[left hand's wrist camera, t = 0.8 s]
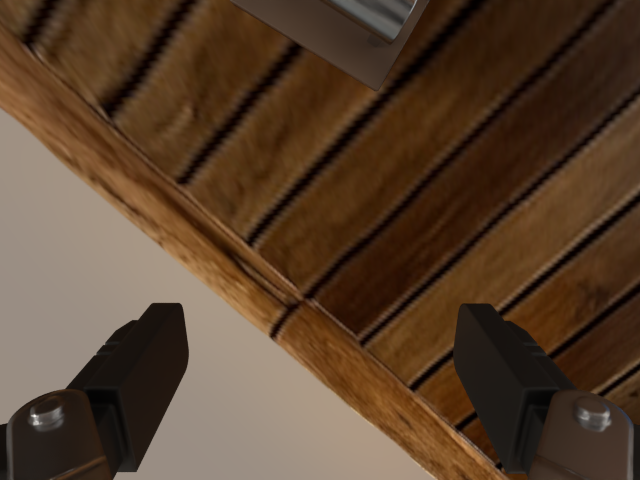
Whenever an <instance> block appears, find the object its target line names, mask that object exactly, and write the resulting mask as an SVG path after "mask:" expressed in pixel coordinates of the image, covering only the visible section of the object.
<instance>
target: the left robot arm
mask: <svg viewBox="0 0 640 480" xmlns="http://www.w3.org/2000/svg"><path fill="white" fill-rule="evenodd" d="M188 358H189V349H188V341H187V334H186V326H185V319H184V312H183V307H182V305H181V304H180V303H152V304H151V305H150V306H149V307H148V309H147V310H146V311H145V312H144V313H143V315H142V316H141V317H140V318H139V320H132V321H130V322H129V323H127V324H126V325H124V326H122V327H121V328H119V329H118V330H116V331H115V332H114V333H113V335H112V336H111V337H110V338H109V339H108V340H107V341H106V343H105V345H103V346H102V347H101V348H100V349H99V351H98V352H97V355H95V356H93V357H92V359H91V360H90V361H89V362H88V363H87V364H86V366H85V367H84V368H83V369H82V370H81V371H80V372H79V374H78V375H77V376H76V377H75V378H74V379H73V380H72V382H71V383H70V384H69V385H68V386H67V388H66V389H63V390H57V391H53V392H50V393H47V394H44V395H42V396H39V397H37V398H35V399H33V400H31V401H30V402H28V403H27V404H25V405H24V406H22V407H21V408H20V409H19V410H18V411H17V412H16V413H15V414H14V415H13V416H12V417H11V419H10V420H9V422H8V423H6V424H2V425H0V480H113V479H114V477H115V475H116V473H117V472H137V470H138V467H139V466H140V464H141V461H142V459H143V457H144V455H145V453H146V451H147V449H148V447H149V445H150V443H151V441H152V439H153V437H154V435H155V433H156V431H157V429H158V427H159V425H160V423H161V421H162V418H163V416H164V414H165V412H166V410H167V408H168V406H169V404H170V402H171V400H172V398H173V396H174V394H175V392H176V390H177V388H178V386H179V384H180V382H181V379H182V378H183V375H184V373H185V371H186V368H187V365H188ZM453 359H454V365H455V369H456V372H457V374H458V376H459V378H460V380H461V382H462V384H463V386H464V388H465V390H466V392H467V394H468V396H469V398H470V400H471V402H472V404H473V406H474V409H475V411H476V413H477V415H478V417H479V419H480V421H481V423H482V425H483V427H484V429H485V431H486V433H487V435H488V437H489V439H490V441H491V443H492V445H493V447H494V449H495V451H496V453H497V455H498V457H499V459H500V461H501V463H502V465H503V467H504V469H505V471H506V473H507V474H527V476H528V479H527V480H640V425H636V424H632V422H631V420H630V419H629V417H628V416H627V415H626V414H625V413H624V411H622V410H621V409H620V408H619V407H618V406H616V405H615V404H613V403H612V402H610V401H609V400H607V399H605V398H603V397H601V396H598V395H596V394H593V393H590V392H587V391H583V390H578V389H577V388H576V387H575V386H574V385H573V384H572V382H571V381H570V380H569V379H568V378H567V377H566V376H565V375H564V373H563V372H562V371H561V370H560V369H559V368H558V367H557V365H556V364H555V363H554V362H553V361H552V360H551V359H550V357H549V356H546V353H545V352H544V351H543V349H542V348H541V347H540V346H537V343H536V341H535V340H534V339H533V338H532V337H531V336H530V335H529V333H528V332H527V331H525V330H524V329H522V328H520V327H519V326H517V325H516V324H514V323H513V322H511V321H504V320H503V319H502V317H501V316H500V315H499V314H498V312H497V311H496V310H495V309H494V308H493V306H492V305H491V304H462V305H461V306H460V308H459V313H458V320H457V327H456V335H455V342H454V349H453Z"/></svg>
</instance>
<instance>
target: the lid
mask: <svg viewBox="0 0 640 480" xmlns="http://www.w3.org/2000/svg"><path fill="white" fill-rule="evenodd" d="M230 1H231V2H232V3H233V4H234V5H235V6H236V7H238V8H240V9H241V10H243V11H245V12H246V13H248V14H250V15H251V16H253V17H254V18H256V19H258V20H259V21H261V22H263V23H264V24H266V25H267V26H269V27H271V28H272V29H274V30H276V31H277V32H279V33H281V34H282V35H284V36H285V37H287V38H289V39H290V40H292V41H294V42H295V43H297V44H299V45H300V46H302V47H303V48H305V49H307V50H308V51H310V52H312V53H313V54H315V55H317V56H318V57H320V58H321V59H323V60H325V61H326V62H328V63H330V64H331V65H333V66H334V67H336V68H338V69H339V70H341V71H343V72H344V73H346V74H348V75H349V76H351V77H352V78H354V79H356V80H357V81H359V82H361V83H362V84H364V85H366V86H367V87H369V88H370V89H372V90H374V91H378V90H379V89H380V87H381V85H382V83H383V82H384V80H385V78H386V76H387V75H388V73H389V71H390V69H391V68H392V66H393V64H394V62H395V61H396V59H397V57H398V55H399V54H400V52H401V50H402V48H403V47H404V45H405V43H406V41H407V40H408V38H409V36H410V34H411V33H412V31H413V29H414V27H415V26H416V24H417V22H418V20H419V19H420V17H421V15H422V13H423V11H424V10H425V8H426V6H427V4H428V3H429V1H430V0H230Z"/></svg>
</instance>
